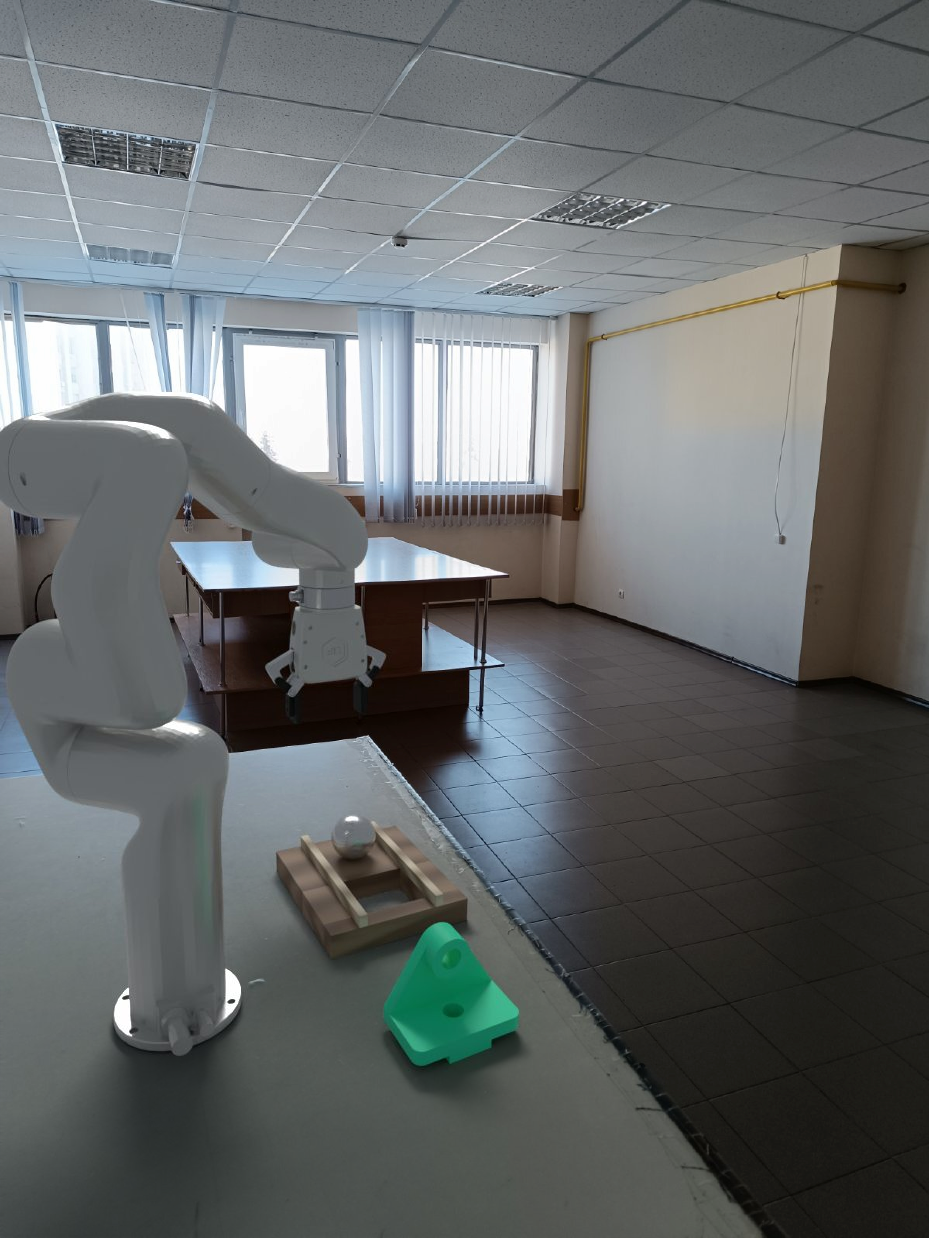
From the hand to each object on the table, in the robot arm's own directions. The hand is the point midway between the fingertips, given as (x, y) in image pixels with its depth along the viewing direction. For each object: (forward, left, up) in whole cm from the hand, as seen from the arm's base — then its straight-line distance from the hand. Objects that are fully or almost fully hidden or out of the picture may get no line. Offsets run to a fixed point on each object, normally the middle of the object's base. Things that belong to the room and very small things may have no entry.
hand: (328, 716), depth 115 cm
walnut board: (-14, 0, -21) cm, 25 cm away
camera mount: (-42, +2, -21) cm, 47 cm away
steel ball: (-9, 0, -15) cm, 17 cm away
